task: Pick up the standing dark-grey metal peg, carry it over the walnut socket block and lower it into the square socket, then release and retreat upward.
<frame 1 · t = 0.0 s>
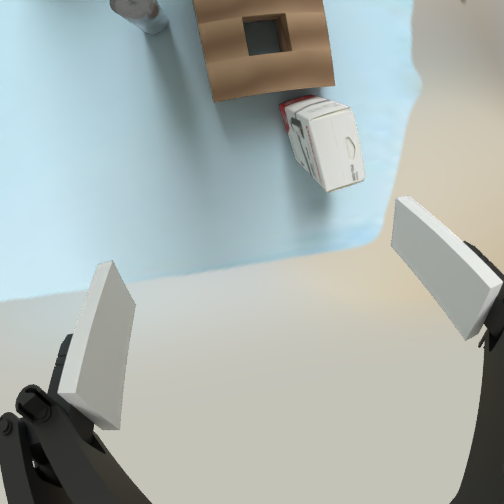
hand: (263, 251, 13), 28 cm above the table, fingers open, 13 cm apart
socket block: (259, 38, 30), on the table
ink box: (302, 127, 38), on the table
peg: (154, 22, 26), on the table
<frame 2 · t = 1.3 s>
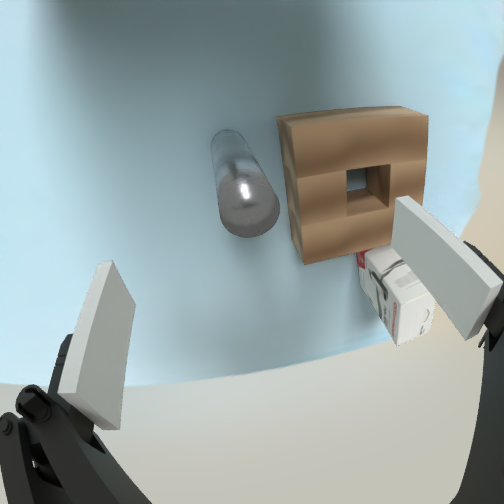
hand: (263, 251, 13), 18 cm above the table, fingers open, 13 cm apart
socket block: (347, 171, 30), on the table
ink box: (372, 257, 38), on the table
peg: (228, 145, 27), on the table
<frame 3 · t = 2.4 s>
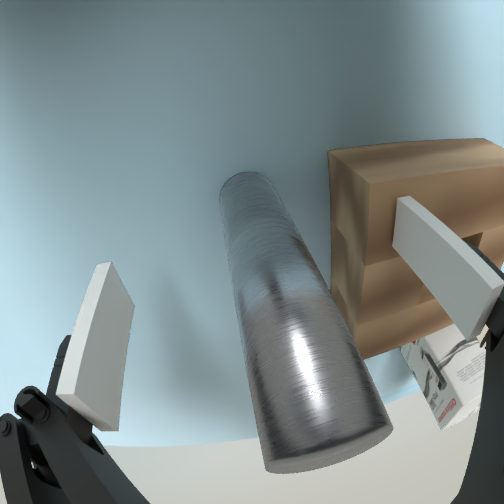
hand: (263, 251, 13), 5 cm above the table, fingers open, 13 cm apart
socket block: (413, 229, 20), on the table
ink box: (419, 322, 28), on the table
peg: (247, 198, 17), on the table
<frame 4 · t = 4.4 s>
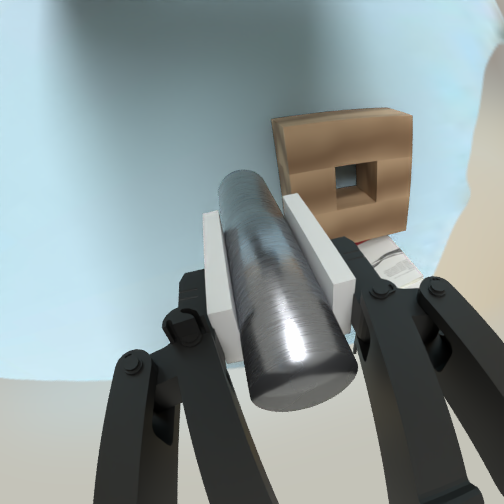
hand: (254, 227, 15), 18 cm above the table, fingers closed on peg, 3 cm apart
socket block: (337, 169, 33), on the table
ink box: (364, 251, 41), on the table
peg: (242, 192, 19), point 13 cm above the table, touching gripper
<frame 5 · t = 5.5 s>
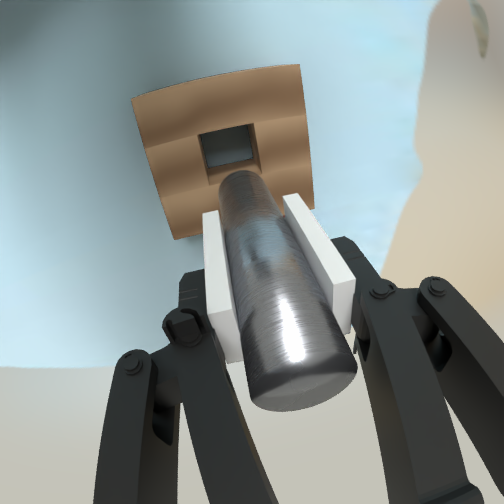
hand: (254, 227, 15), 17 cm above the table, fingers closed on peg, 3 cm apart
socket block: (226, 141, 29), on the table
peg: (242, 193, 19), point 12 cm above the table, touching gripper
when the fingers open (6 cm above the table, at t = 7.1 s): peg stays where it is, resting in socket block.
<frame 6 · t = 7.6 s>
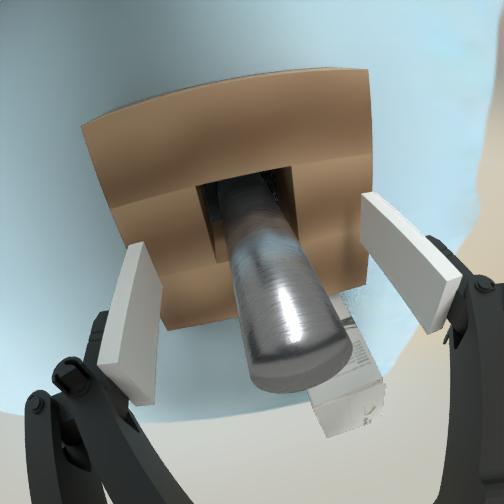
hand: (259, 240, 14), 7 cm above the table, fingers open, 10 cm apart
socket block: (240, 183, 20), on the table
ink box: (307, 303, 28), on the table
peg: (241, 188, 20), resting in socket block
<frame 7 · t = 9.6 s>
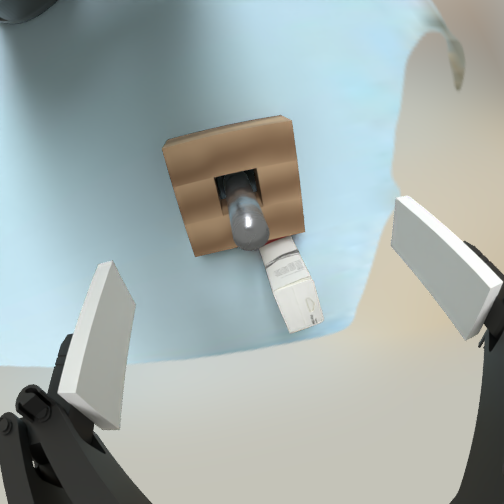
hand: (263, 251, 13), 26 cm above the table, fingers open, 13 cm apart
socket block: (235, 178, 37), on the table
ink box: (278, 253, 45), on the table
peg: (235, 181, 38), resting in socket block
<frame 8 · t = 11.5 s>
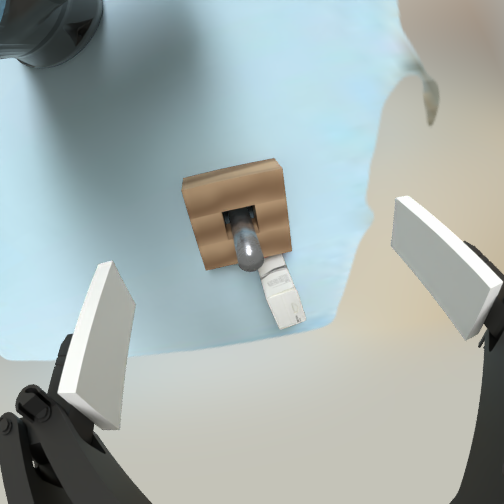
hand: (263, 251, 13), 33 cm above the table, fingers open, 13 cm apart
socket block: (237, 207, 48), on the table
ink box: (271, 265, 56), on the table
peg: (237, 210, 48), resting in socket block
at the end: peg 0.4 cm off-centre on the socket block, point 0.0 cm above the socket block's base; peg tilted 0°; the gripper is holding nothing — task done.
